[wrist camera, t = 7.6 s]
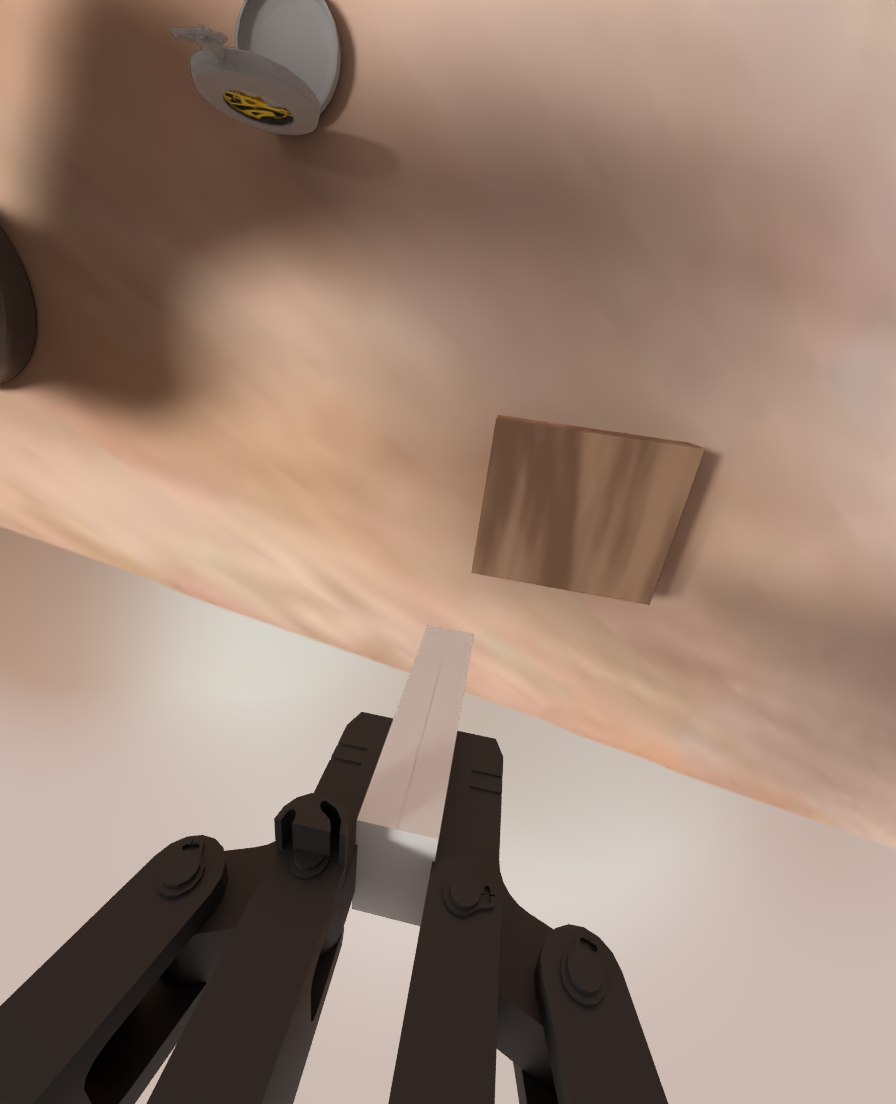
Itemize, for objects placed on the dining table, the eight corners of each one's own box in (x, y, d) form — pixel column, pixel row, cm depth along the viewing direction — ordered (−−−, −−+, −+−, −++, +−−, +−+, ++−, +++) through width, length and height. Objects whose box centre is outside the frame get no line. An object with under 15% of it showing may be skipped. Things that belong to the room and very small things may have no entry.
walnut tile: (471, 572, 35) (649, 604, 34) (496, 419, 30) (704, 449, 29) (475, 555, 38) (638, 584, 37) (498, 414, 33) (685, 441, 32)
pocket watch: (307, -45, 25) (185, -285, 16) (377, 118, 28) (304, -10, 18) (206, 53, 28) (50, -106, 18) (278, 196, 30) (171, 116, 21)
